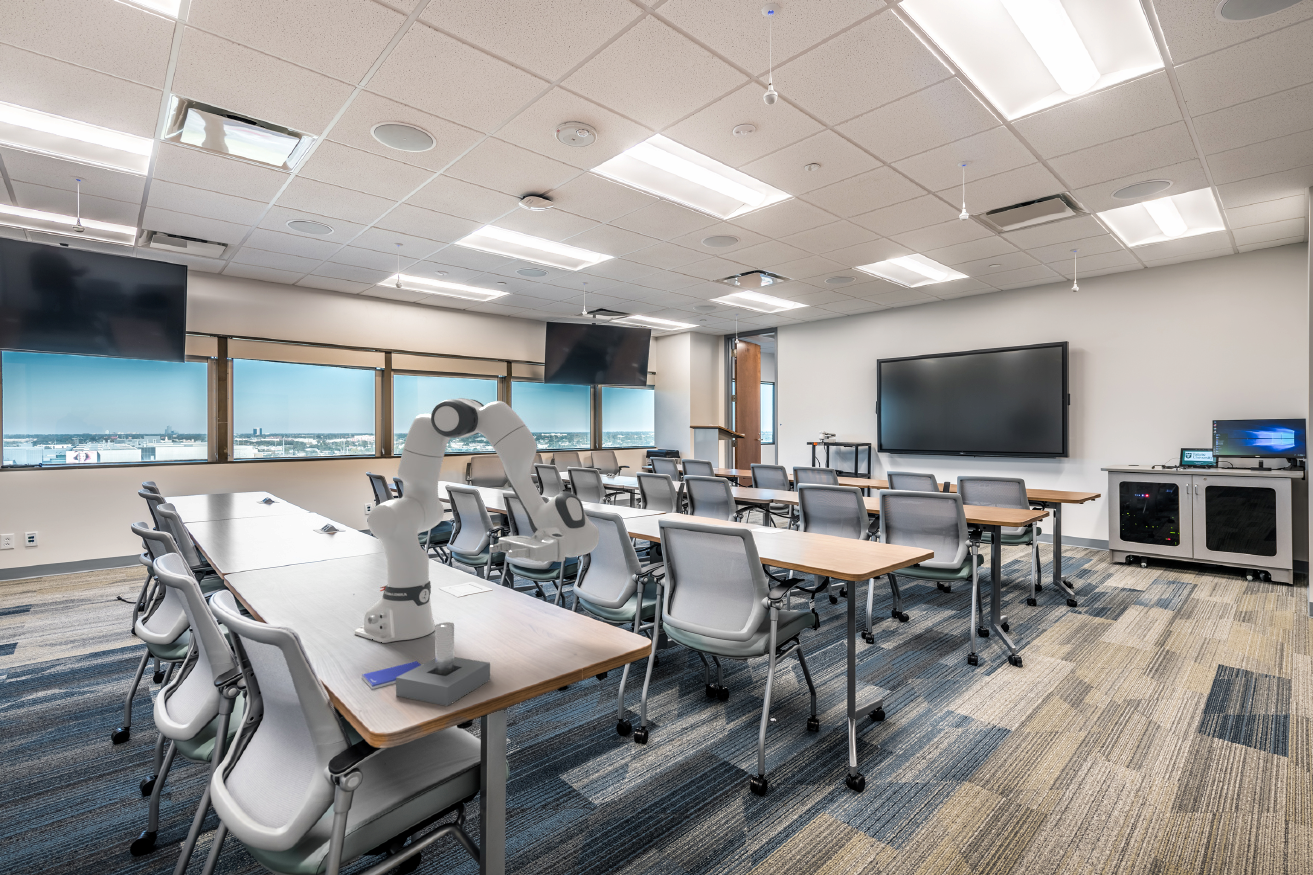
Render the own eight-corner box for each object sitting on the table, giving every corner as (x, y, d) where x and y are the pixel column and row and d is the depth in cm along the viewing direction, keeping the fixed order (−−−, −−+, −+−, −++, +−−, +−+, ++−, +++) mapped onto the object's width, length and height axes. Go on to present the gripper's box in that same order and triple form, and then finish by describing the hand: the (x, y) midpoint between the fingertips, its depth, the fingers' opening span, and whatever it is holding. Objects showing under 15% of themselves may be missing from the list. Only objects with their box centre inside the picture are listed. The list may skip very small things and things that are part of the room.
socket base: (396, 695, 126) (396, 677, 126) (442, 671, 139) (441, 654, 139) (447, 706, 121) (447, 686, 121) (490, 679, 134) (490, 662, 134)
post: (431, 689, 129) (431, 626, 129) (444, 682, 133) (443, 621, 133) (445, 692, 127) (445, 628, 128) (458, 685, 131) (457, 623, 131)
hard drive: (372, 684, 130) (428, 669, 138) (361, 673, 136) (416, 660, 144) (372, 691, 130) (428, 676, 138) (361, 680, 136) (416, 666, 144)
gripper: (526, 528, 164) (480, 534, 154) (568, 537, 149) (520, 544, 139) (526, 551, 164) (480, 558, 154) (568, 562, 149) (520, 570, 139)
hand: (499, 551), depth 147 cm, fingers open, 8 cm apart
